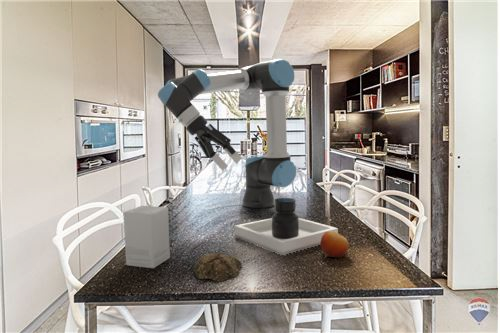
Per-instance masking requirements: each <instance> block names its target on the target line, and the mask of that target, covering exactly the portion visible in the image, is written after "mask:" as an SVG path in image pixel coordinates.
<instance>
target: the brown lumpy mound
mask: <svg viewBox="0 0 500 333" xmlns="http://www.w3.org/2000/svg"><path fill="white" fill-rule="evenodd" d="M241 268H243V266H242V262H241V260H240V259H239V258H237V256H232V255H229V254H223V253H218V252H214V253H207V254H204V255H201V256H200V257H199V258H198V259H197V261H196V262H195V265H194V267H193V272H194V275H195V277H196V278H197V279H198V280H212V281H214V282H219V283H220V282H225V281H227V280H229V279H232V278H235V277H237V276H238V275H239V274H240V270H242V269H241Z"/></svg>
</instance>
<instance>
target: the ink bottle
mask: <svg viewBox="0 0 500 333" xmlns="http://www.w3.org/2000/svg"><path fill="white" fill-rule="evenodd" d="M296 202H297V201H296V199H295V198H290V197H281V198H280V197H279V198H274V211H275V212H274V213H272V215H271V218H272V235H273V236H274V237H276V238H281V239H290V238H294V237H297V236H298V235H299V218H300V217H299V214H297V213H296V209H297V208H296V204H297V203H296Z"/></svg>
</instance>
